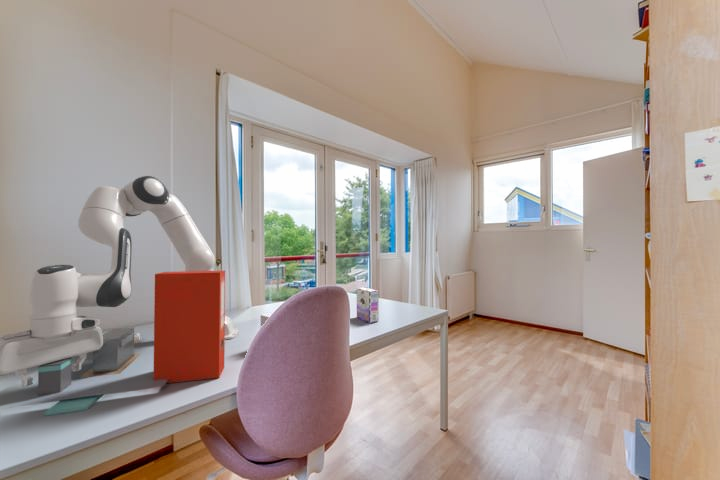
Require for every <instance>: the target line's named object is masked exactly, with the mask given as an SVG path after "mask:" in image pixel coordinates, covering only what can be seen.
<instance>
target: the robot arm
mask: <svg viewBox="0 0 720 480" xmlns="http://www.w3.org/2000/svg"><path fill="white" fill-rule="evenodd" d="M148 211H149V212H150V213H152V214H153V215H154V216H155V217H156V218H157V221H158V222H159V224H160V226H161V227H162V229H163V230H164V232H165V234H166V236H167V237H168V238H169V241H170V242H171V243H172V245H173V247H174V249H175V250H176V252H177V254H178V255H179V257H180V259H181V260H182V262H183V263H184V265H185V266H184V267H185V268H184V269H185V271H215V270H214V267H215V264H216V257H215V254H214V252H213V251H212V249H211V248H210V246H209V245H208V242H207V240H205V238H204V236H203V235H202V233H201V232H200V229H199V228H198V227H197V225H196V223H195V222H194V219H192V217H191V214H190V213H189V211H188V210H187V209H186V207H185V205H184V204H183V203H182V202H181V200H180V199H178V197H177V196H176V195H174V194H172V193H170V192H169V190H168V189H167V187H166V185H164V183H163V182H162V181H161V180H159V179H158V178H156V177H155V176H152V175H143V176H139V177H137V178H135V179H134V180H133V181H130V182H128V183H127V184H125V185H124V186H123V187H122V188H121V189H119V188H117V187H115V186H109V185H101V186H98V187H96V188H95V189H94V190H93V191H92V192H91V194H90V195H89V196H88V198H87V199H86V201H85V203H84V205H83V207H82V210H81V212H80V214H79V217H78V223H77V225H78V229H79V231H80V232H81V233H82V234H83V235H84V236H85V237H87V238H89V239H90V240H92V241H94V242H97V243H99V244H103V245H106V246H109V247H110V248H111V249H112V250H111V263H110V264H111V266H110V271H109V272H107V273H105V274H103V273H102V274H86V273H84V274H83V273H80V272H78V271H77V270H76V266H74V265H72V264H71V265H70V264H55V265H48V266H44V267H41V268H39V269H37V270H36V271H35V272H34V273H33V277H32V279H31V284H30V285H31V286H30V295H29V296H30V297H29V298H30V299H29V301H30V303H31V304H30V305H31V312H30V315H29V329H28V330H25V331H20V332H16V333H8V334H4V335H2V336H1V337H0V376H4V375H8V374H12V373H14V375H16V376H17V377H19V379H20V380H21V387H22V388H25V387H28V386H31V385H33V380H34V378H33V377H32V376H26V375H25V374H27V371H28V369H32V368H34V367H35V368H36V367H38V366H40V365H43V364H47V363H50V362H54V361H58V360H62V359H66V358H69V357H72V358H73V357H77V360H76V361H75V363H72V366H71V372H74V373H75V372H78V371H81V370H82V364H83V363H84V362H85V360H86V359H87V357H88V353H91V352H92V353H93V351H96V350H99V349H100V348H101V347H102V346H103V335H104V334H103V331H102V328H101V327H100V326H99V325H100V321H101V319H98V318H96V317H92V316H85V315H78V312H79V311H78V308H92V307H101V308H117V307H119V306H121V305H122V304H124V303H125V302H126V301H127V300H129V298H130V297H131V295H132V290H133V289H132V277H131V272H132V252H133V251H132V247H133V244H132V236H131V232H130V231H129V230H127V228H125V226H124V222H125V219H126V217H129V218H130V217H137V216H140V215H142V214H144V213H145V212H148ZM238 335H239V329H238V328H237V327H234V324H233V321H232V319H231V318H230V317H229V316H227V315H226V314H225V341H226V340H232V339H234V338H236V337H237V336H238Z"/></svg>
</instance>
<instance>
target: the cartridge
mask: <svg viewBox="0 0 720 480" xmlns="http://www.w3.org/2000/svg"><path fill="white" fill-rule="evenodd" d="M72 364H73V357H69V358H66V359H62V360H58V361H54V362H50V363H47V364H43V365H39V366H37V367H38V368H37V373H38V374H37V375H38V379H37V383H38V384H37V385H38V387H37V389H38V390H37V395H38V396H42V395H49V394H50V395H51V394H57V393H59V394H60V393H62V392H64V390H66V389H67V388H68V387H70V386H71V385H72Z"/></svg>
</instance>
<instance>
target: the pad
mask: <svg viewBox="0 0 720 480" xmlns="http://www.w3.org/2000/svg"><path fill="white" fill-rule="evenodd" d="M103 395H104V394H101V393H100V394H96V395H95V394H94V395H90V396H89V395H88V396H81V397H74V398H67V399H60V400H59V401H58V402H56V403H55V404H54V405H52V406H51V407H50V408H49V409H47V410H45V412H44V416H51V415H58V414H64V413H65V414H66V413H71V412H77V411H80V412H81V411H84V410H88V409H90V407H91V406H92V405H94V404H95V403H96V402H97V401H98V400H99V399H100V398H101V397H102V396H103Z"/></svg>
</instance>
